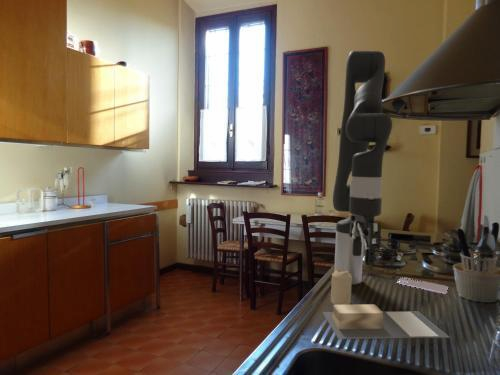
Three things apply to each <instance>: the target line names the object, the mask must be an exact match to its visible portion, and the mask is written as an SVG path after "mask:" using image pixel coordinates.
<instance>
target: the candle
mask: <svg viewBox="0 0 500 375" xmlns="http://www.w3.org/2000/svg"><path fill="white" fill-rule="evenodd" d="M351 283H352V276H351V275H350V274H349V272H348V271H346V270H345V269H344V270H339V269H337V270H336V271H335V272H332V274H331V286H330V287H331V288H330V289H331V291H330V293H331V294H330V302H331V303H332V305H351V300H352V284H351Z"/></svg>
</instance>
